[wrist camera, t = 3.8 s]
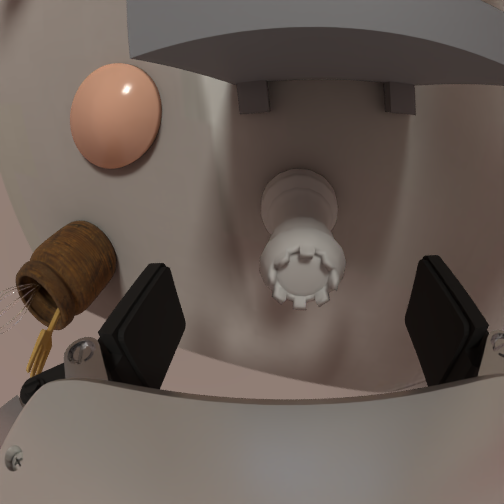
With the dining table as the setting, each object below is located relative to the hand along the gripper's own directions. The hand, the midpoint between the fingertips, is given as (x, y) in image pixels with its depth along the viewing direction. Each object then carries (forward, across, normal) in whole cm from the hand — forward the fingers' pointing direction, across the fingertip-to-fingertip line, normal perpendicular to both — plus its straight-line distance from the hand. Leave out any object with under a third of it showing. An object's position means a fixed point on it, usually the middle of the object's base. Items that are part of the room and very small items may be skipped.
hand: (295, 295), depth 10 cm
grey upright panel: (+8, -2, -9) cm, 12 cm away
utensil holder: (+8, +16, +2) cm, 18 cm away
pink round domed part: (+8, +11, -8) cm, 15 cm away
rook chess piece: (+8, 0, -1) cm, 8 cm away
